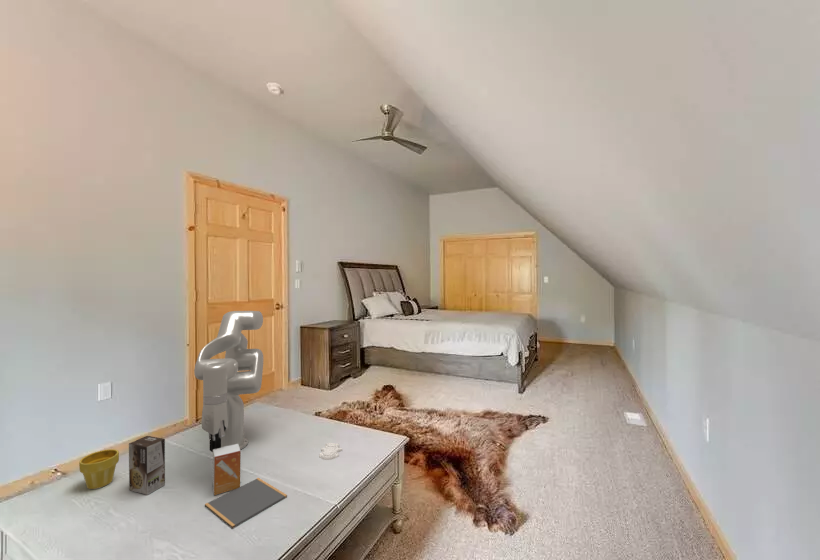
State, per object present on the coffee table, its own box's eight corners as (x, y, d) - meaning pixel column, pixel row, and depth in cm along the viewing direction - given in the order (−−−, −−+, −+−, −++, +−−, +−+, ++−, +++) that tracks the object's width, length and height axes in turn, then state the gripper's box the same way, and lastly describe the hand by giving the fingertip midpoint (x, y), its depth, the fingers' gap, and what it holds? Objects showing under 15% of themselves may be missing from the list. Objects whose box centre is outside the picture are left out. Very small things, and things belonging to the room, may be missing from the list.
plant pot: (73, 496, 115) (73, 466, 115) (86, 479, 124) (86, 452, 124) (113, 488, 119) (113, 459, 119) (123, 473, 129) (123, 446, 129)
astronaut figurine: (344, 446, 150) (344, 439, 150) (336, 461, 138) (336, 453, 138) (325, 445, 150) (325, 438, 150) (314, 460, 138) (314, 452, 138)
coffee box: (166, 484, 121) (166, 438, 121) (146, 495, 115) (146, 447, 115) (147, 479, 124) (147, 434, 124) (128, 490, 118) (127, 442, 118)
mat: (204, 506, 110) (204, 503, 110) (258, 479, 124) (258, 477, 124) (232, 528, 100) (232, 526, 100) (287, 497, 114) (287, 494, 114)
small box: (213, 496, 115) (213, 456, 115) (212, 486, 120) (212, 449, 120) (240, 488, 119) (240, 450, 119) (238, 479, 125) (238, 442, 125)
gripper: (194, 397, 126) (194, 448, 126) (214, 406, 117) (214, 460, 117) (216, 391, 132) (216, 440, 132) (236, 399, 123) (236, 451, 123)
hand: (215, 449), depth 124 cm, fingers closed
